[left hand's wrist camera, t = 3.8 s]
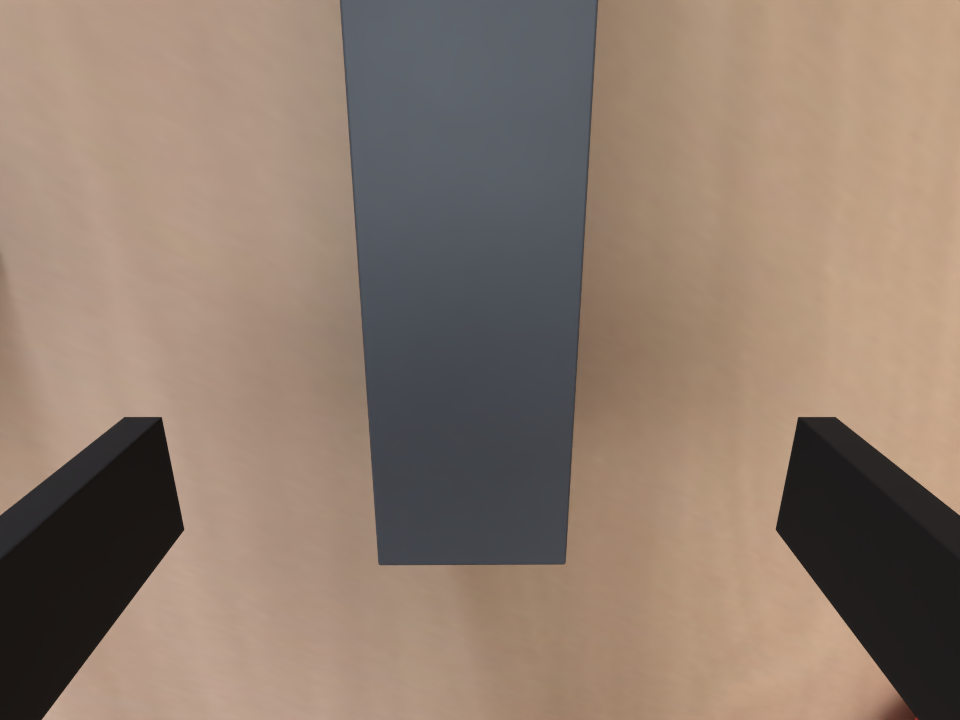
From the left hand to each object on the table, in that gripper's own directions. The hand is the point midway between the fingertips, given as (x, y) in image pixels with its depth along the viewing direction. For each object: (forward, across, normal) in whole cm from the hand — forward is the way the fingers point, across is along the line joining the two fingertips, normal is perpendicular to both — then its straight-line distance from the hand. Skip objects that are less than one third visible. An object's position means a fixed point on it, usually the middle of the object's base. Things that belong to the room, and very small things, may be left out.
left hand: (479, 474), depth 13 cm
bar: (+12, 0, -8) cm, 14 cm away
